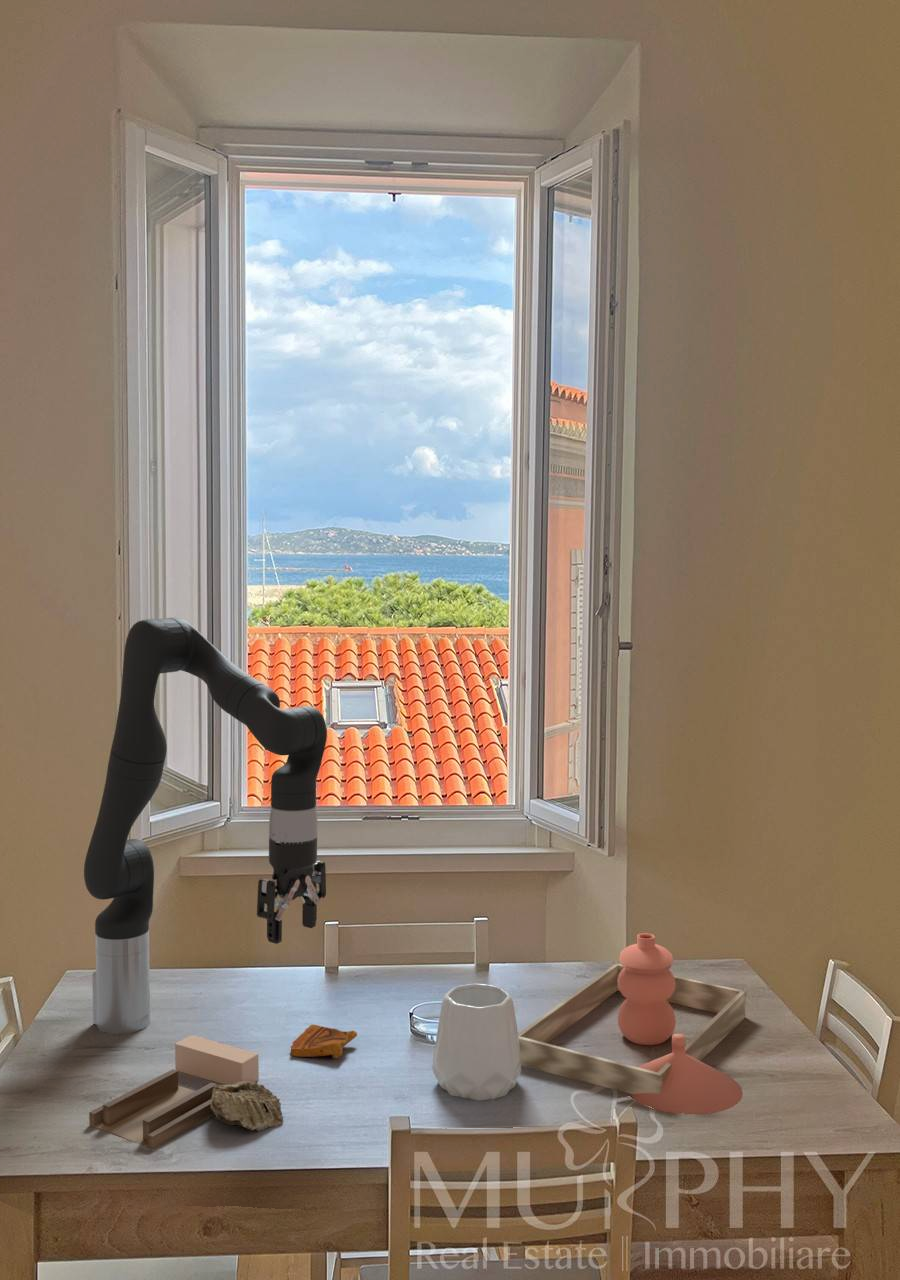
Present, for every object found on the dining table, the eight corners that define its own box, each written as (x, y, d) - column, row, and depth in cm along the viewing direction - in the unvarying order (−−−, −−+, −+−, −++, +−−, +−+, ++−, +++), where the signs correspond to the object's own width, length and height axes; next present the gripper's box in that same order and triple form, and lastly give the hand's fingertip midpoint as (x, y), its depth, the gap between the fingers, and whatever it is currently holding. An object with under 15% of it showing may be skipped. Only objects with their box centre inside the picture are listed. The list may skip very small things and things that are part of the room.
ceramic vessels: (767, 1118, 181) (767, 997, 179) (630, 1128, 179) (629, 1005, 177) (696, 1026, 215) (696, 924, 214) (581, 1033, 213) (580, 930, 212)
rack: (89, 1130, 176) (89, 1104, 175) (169, 1088, 189) (168, 1063, 189) (152, 1155, 169) (152, 1128, 168) (230, 1109, 182) (230, 1084, 182)
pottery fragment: (341, 1046, 197) (286, 1030, 200) (337, 1073, 198) (281, 1056, 200) (361, 1025, 207) (308, 1009, 209) (357, 1050, 207) (304, 1034, 210)
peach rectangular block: (175, 1073, 195) (175, 1043, 195) (192, 1064, 198) (192, 1034, 198) (242, 1094, 188) (242, 1063, 188) (258, 1083, 192) (258, 1053, 191)
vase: (419, 1076, 194) (419, 985, 193) (497, 1061, 200) (499, 973, 198) (453, 1115, 181) (454, 1018, 180) (536, 1098, 187) (538, 1004, 185)
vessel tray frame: (512, 1066, 198) (513, 1036, 198) (615, 988, 232) (615, 963, 232) (659, 1106, 184) (660, 1075, 184) (745, 1017, 219) (746, 991, 218)
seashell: (275, 1156, 175) (286, 1098, 184) (284, 1127, 172) (294, 1069, 180) (200, 1142, 174) (213, 1084, 183) (207, 1112, 170) (221, 1054, 179)
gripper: (302, 821, 196) (301, 917, 197) (244, 840, 183) (243, 942, 185) (339, 828, 192) (338, 926, 193) (282, 848, 180) (281, 952, 181)
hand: (292, 934), depth 189 cm, fingers open, 8 cm apart
